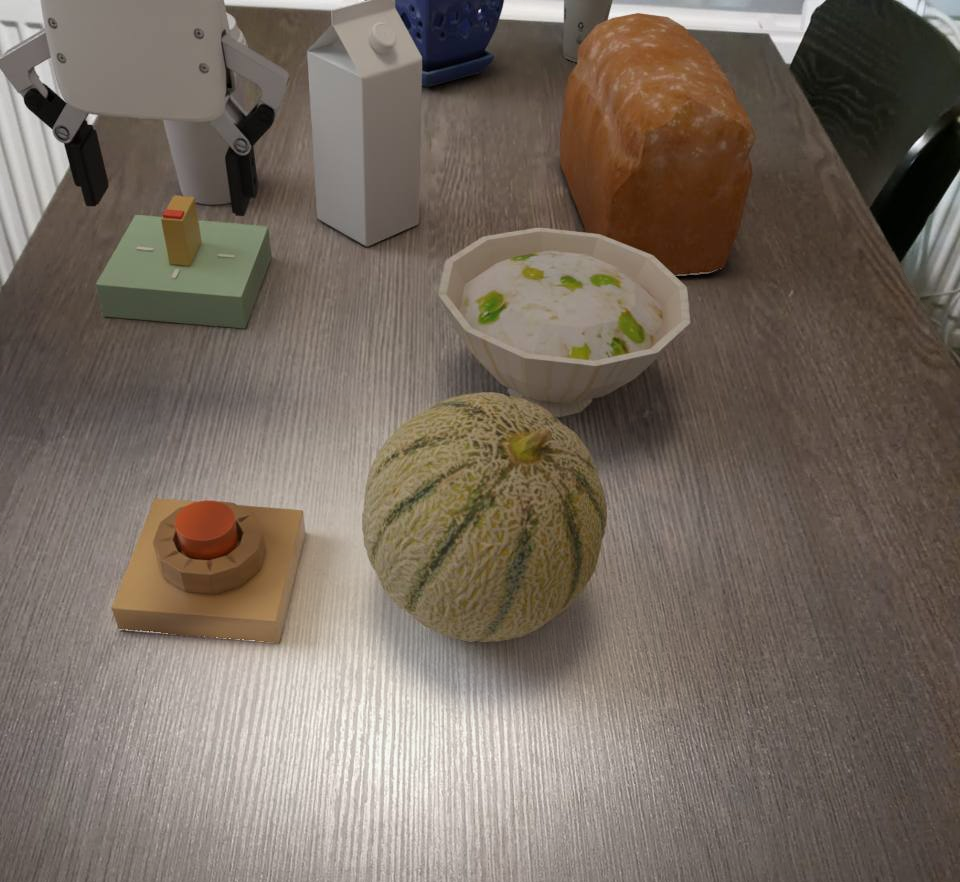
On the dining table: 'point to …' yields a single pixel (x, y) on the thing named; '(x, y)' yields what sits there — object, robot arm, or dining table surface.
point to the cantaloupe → (484, 517)
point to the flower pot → (451, 35)
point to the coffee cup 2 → (581, 22)
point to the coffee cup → (203, 149)
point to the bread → (656, 143)
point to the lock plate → (186, 275)
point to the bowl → (562, 312)
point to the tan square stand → (213, 577)
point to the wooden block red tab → (181, 230)
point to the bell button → (206, 530)
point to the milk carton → (366, 122)
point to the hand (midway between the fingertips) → (170, 201)
